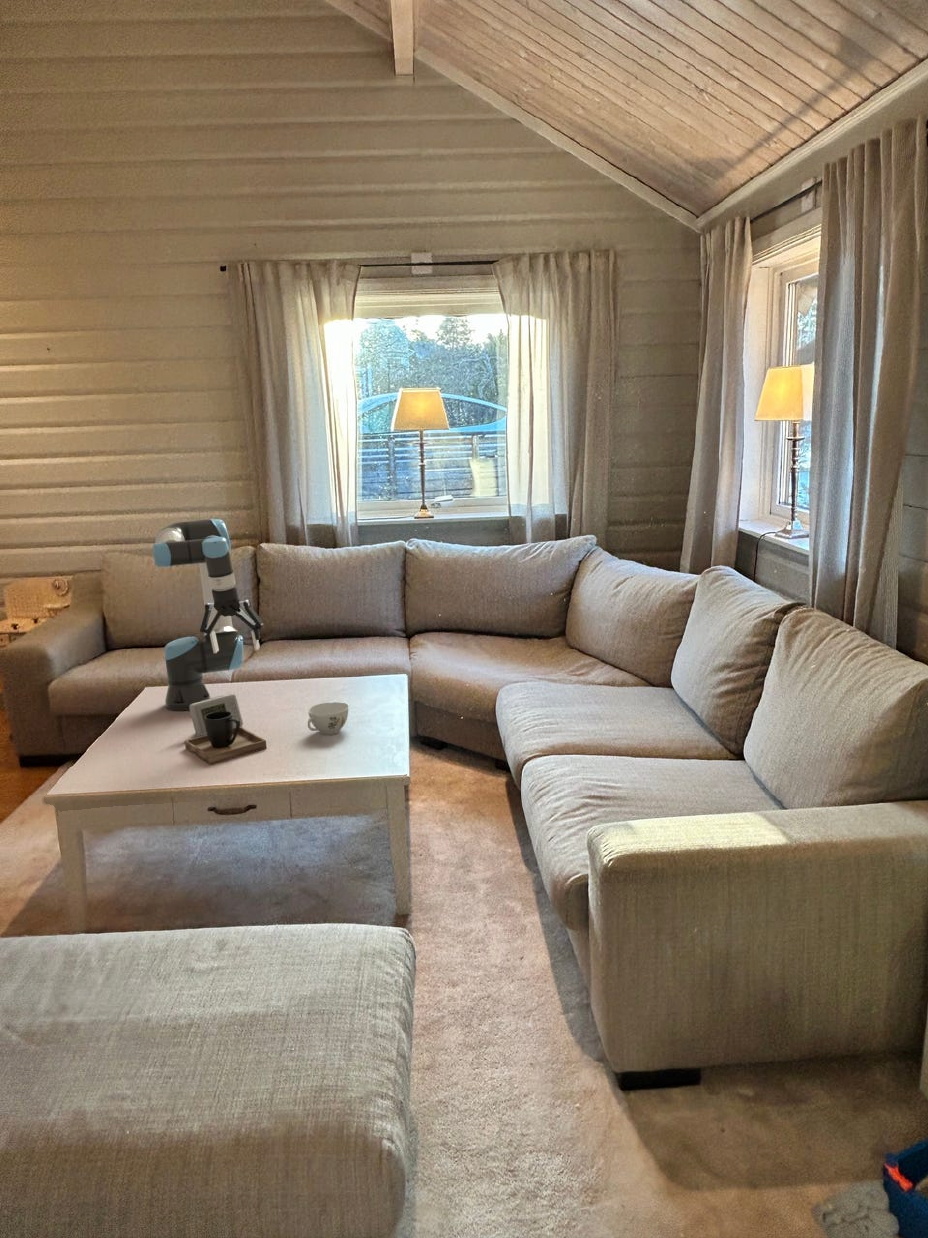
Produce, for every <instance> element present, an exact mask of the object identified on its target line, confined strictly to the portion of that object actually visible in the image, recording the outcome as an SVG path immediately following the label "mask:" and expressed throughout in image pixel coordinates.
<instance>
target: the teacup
mask: <svg viewBox="0 0 928 1238" xmlns="http://www.w3.org/2000/svg"><path fill="white" fill-rule="evenodd" d="M308 716H309V718H308V720H307V728H308V730H310V731H312V732H314V731H319V732H320V733H321V734H322V735H327V736H329V735H330V736H331V735H335V734H338V733H340V732H341V730H342V728H343V727H344V726H345V724H346V722H347V720H348V716H349V705H348V703H346V702H345V703H344V702H334V701H333V702H322V703H318V704H315V705H313V706H311V707H309V708H308ZM311 723H312V725H313V727H314V728H313V727H311Z"/></svg>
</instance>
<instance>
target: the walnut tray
mask: <svg viewBox="0 0 928 1238" xmlns="http://www.w3.org/2000/svg"><path fill="white" fill-rule="evenodd" d="M235 730H236V727H234V728H233V733H232V738H233V736H234V733H235ZM184 745H185V750H188V752H190V753H192V754H193V755H194V756H196V757H197V758H199V759H201V760H202V761H204V762H205V763H207V764H208V765H210V766H211V765H214V764H218V763H221V762H224V761H227V760H231V759H234V758H238V757H242V756H246V755H248V754H252V753H255V752H258V751H259V752H260V751H261V750H266V749H267V740H266V739H264V738H262V737H261V736H259V735H257V734H255V733H253V732H251V731H249V730H248V729H245V728H244V727H243V726H240V729H239V731H238V734H237V736H236V739H235V741H234V742H233V743H232V744H231V745H229V746H227V747H223V748H214V747H212V745H211V742H210V740H209V738H208V735H205V736H201V737H194V738H191V739H187V740H185V741H184Z"/></svg>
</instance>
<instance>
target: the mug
mask: <svg viewBox="0 0 928 1238" xmlns="http://www.w3.org/2000/svg"><path fill="white" fill-rule="evenodd" d="M233 721H234V722H235V723H236V730H235V733H234V736H233V738H232V733H233ZM204 722H205V729H206V732H207V735H208V738H209V740H210V742H211V745H212V747H214V748H223V747H227V746H229V745H231V744H232V743H233V742H234V741H235V739H236V736H237V734H238V731H239V729H240V721H239V720H238V719H232V713H231V712H229V711H216V712H212V713H209V714H207V715H205V716H204Z"/></svg>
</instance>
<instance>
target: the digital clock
mask: <svg viewBox="0 0 928 1238" xmlns="http://www.w3.org/2000/svg"><path fill="white" fill-rule="evenodd" d="M240 708H241V707H240V706H239V702H238V698H237V695H236V694H235V693H233V692H232V693H227V694H225V695H219V696H216V697H212V698H211V697H210V699H207V700H203V701H200V702H197V703H193V704H191V705H190V706H189V709H190V710H189V714H190V716H191V720H192V724H193V728H194V731H195V735H196V738H198V737H201V736H205V735H207V732H206V729H205V722H204V716H205V715H207V714H209V713H212V712H216V711H229V712H231V713H232V719H238V720H239V721H240V726H241V727H243V726H244V721H243V717H242V716H243V715H242V713H241V709H240ZM234 727H236V723H235V722H234V721H233V728H234Z"/></svg>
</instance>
